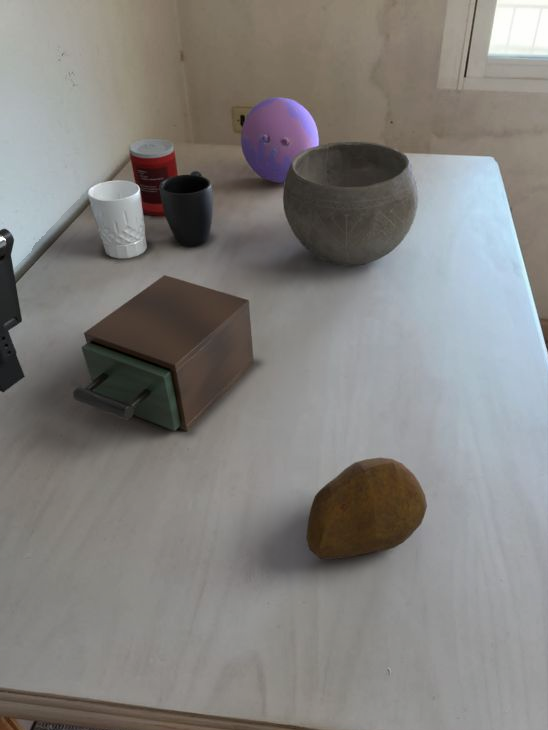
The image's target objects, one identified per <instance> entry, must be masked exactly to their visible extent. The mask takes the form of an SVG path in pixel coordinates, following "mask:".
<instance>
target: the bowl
mask: <svg viewBox="0 0 548 730" xmlns="http://www.w3.org/2000/svg"><path fill="white" fill-rule="evenodd" d="M282 204H283V212H284V215H285V218H286V221H287V223H288V225H289V227H290V229H291V231H292V232H293V234H294V237H296V239H297V240H298V241H299V243H300V244H301V245H302V246H303V248H305V250H306V251H309V252H310V253H311V254H312V255H314V256H316V257H318V258H320V259H323V260H325V261H327V262H330V263H332V264H336V265H340V266H359V265H366V264H369V263H372V262H375V261H377V260H380V259H382V258H384V257H385V256H387V255H388V254H390V253H392V252H393V251H394V250H395V249H396V248H397V247H398V246H400V245H401V243H402V241H403V240H404V239H405V238H406V236H407V235H408V234H409V232H410V230H411V228H412V226H413V224H414V221H415V218H416V215H417V210H418V206H419V205H418V204H419V190H418V184H417V180H416V175H415V172H414V168H413V165H412V163H411V161H410V159H409V158H408V156H407V155H405V153H403V152H401V151H400V150H397V149H395V148H394V147H390V146H388V145H384V144H380V143H377V142H370V141H336V142H328V143H325V144H321V145H318V146H316V147H312V148H309V149H307V150H306V151H302V152H301V153H300V154H298V155H297V156H296V157H295V158H294V159H293V161H292V162H291V164H290V167H289V170H288V172H287V175H286V179H285V182H284V185H283V195H282Z"/></svg>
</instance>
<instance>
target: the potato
mask: <svg viewBox="0 0 548 730" xmlns="http://www.w3.org/2000/svg"><path fill="white" fill-rule="evenodd" d="M427 507H428V504H427V498H426V494H425V492H424V490H423V488H422V486H421V484H420V481H419V480H418V478H417V477H416V475H415V474H414V473H413V472H412V471H411V470H410V469H409V468H408V467H407V466H406V465H404V464H403V463H402V462H400V461H398V460H396V459H394V458H388V457H374V458H366V459H361V460H358V461H354V462H353V463H351V464H350V465H349V466H347V467H346V468H344V470H342V471H341V472H340V473H339V474H338V475H336V476H335V477H334V478H333V479H332V480H330V481H329V482H328V483H326V484H325V485H324V486H323V487H322V488H321V489H320V490H319V491H318V492H317V493H316V494H315V496H314V497H313V501H312V504H311V507H310V511H309V514H308V519H307V528H306V542H307V546H308V549H309V551H310V552H311V553H312V554H314V555H315V556H316V557H318V558H319V559H320V560H321V559H322V560H335V559H345V558H350V557H356V556H360V555H363V554H364V555H365V554H369V553H374V552H383V551H387V550H390V549H393V548H396V547H398V546H400V545H402V544H403V543H405V541H407V540H408V539H409V538H410V537H412V535H413V534H414V533H415V532H416V530H417V529H418V528H419V527H420V526H421V525H422V523H423V520H424V518H425V515H426V512H427V509H428V508H427Z"/></svg>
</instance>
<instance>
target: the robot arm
mask: <svg viewBox="0 0 548 730" xmlns="http://www.w3.org/2000/svg"><path fill="white" fill-rule="evenodd" d="M14 243H15V238H14V235H13V234H12V233H11V232H10V230H9V229H7V228H1V229H0V392H1V393H5V392H6V391H8V390H9V389H10V388H12V387H13V386H14V385H16V384H17V383H18V382H20V381H21V380H22V379H24V378H25V377H26V376H25V373H24V371H23V367H22V366H21V363H20V360H19V357H18V355H17V349H16V347H15V345H14V343H13V340H12V337H11V335H10V332H9V331H10V330H12V329H13V328H14V327H16V326H18V325H19V324H21V323H22V322H23V318H22V312H21V306H20V299H19V295H18V288H17V283H16V277H15V271H14V265H13V259H12V254H13V253H12V252H13V248H14Z"/></svg>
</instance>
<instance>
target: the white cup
mask: <svg viewBox="0 0 548 730" xmlns="http://www.w3.org/2000/svg"><path fill="white" fill-rule="evenodd" d="M87 196H88V199H89V204H90V206H91V210H92V213H93V217H94V221H95V223H96V226H97V227H96V228H97V230H98V233H99V237H100V238H101V241H102V245H103V248H104V251H105V254H106V255H107V256H109V257H111V258H115V259H131V258H136V257H138V256H140V255H142V254H144V253H145V252H146V250H147V249H148V244H147V239H146V238H147V237H146V226H145V225H146V224H145V217H144V212H143V208H142V201H141V194H140V187H139V186H138V185H137V184H136V183H135V182H133V181H130V180H123V179H122V180H120V179H119V180H118V179H117V180H107V181H102V182H100V183H99V182H98V183H97V184H94V185H92V186H90V188H88V189H87Z"/></svg>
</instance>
